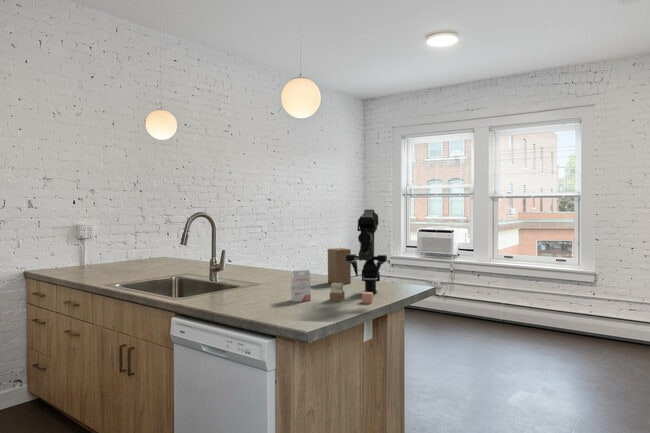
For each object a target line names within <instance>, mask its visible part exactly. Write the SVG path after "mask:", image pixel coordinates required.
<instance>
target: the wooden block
mask: <svg viewBox="0 0 650 433" xmlns="http://www.w3.org/2000/svg"><path fill="white" fill-rule="evenodd" d="M351 250H352V249H350V248H343V247H337V248H336V247H335V248H334V247H333V248H327V283H328V284H332V283H343V285H348V283H350V284H352V279H351V278H352V274H351V272H352V270H351V269H352V268H351V267H352V264H351V263H349V261H346V256H347V255H349V254H352V253H351Z"/></svg>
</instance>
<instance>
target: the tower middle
mask: <svg viewBox="0 0 650 433" xmlns="http://www.w3.org/2000/svg"><path fill="white" fill-rule="evenodd" d="M343 291H344V284H343V283H330V292H331V293H342V292H343Z"/></svg>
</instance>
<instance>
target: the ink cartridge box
mask: <svg viewBox="0 0 650 433" xmlns="http://www.w3.org/2000/svg"><path fill="white" fill-rule="evenodd" d="M292 273H293V274H292V275H291V276H290V278H291V279H290V283H291V285H290V286H291V289H290V290H291V301H292V302H307V301H311V297H312V296H311V276H310V275H311V271H310V270H309V269H305V270H304V269H301V270H293V271H292Z"/></svg>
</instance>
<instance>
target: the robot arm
mask: <svg viewBox="0 0 650 433" xmlns="http://www.w3.org/2000/svg"><path fill="white" fill-rule="evenodd" d="M379 223H380V221H379V215H378V213H376V212H375V209H373V208H372V209H364V211H363V214H362V215H360V216H359V218H357V229H356V230H357V232H360V233H359V235H358V238H357V239H358V242H359V245H360V248H359V251H358V255H357V254H352V253H351V254H349V255H347V256H346V261H349V263H351V267H352V268H353V271H354V273H355V277H358V274H359V270H358V261H365V263H364V265H363V266H362V269H361V281H362V282H364V291H363V292H373V295H374V294H377V293H378V290H377V282H380V281H381V275H380V272H379V271H380V269H381V266H382V264H384V263H386V262H388V256H387V255H386V254H378V255H377V256H376V255H375V233H376V231H377V230H378V226H379ZM375 261H376V262H375Z"/></svg>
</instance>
